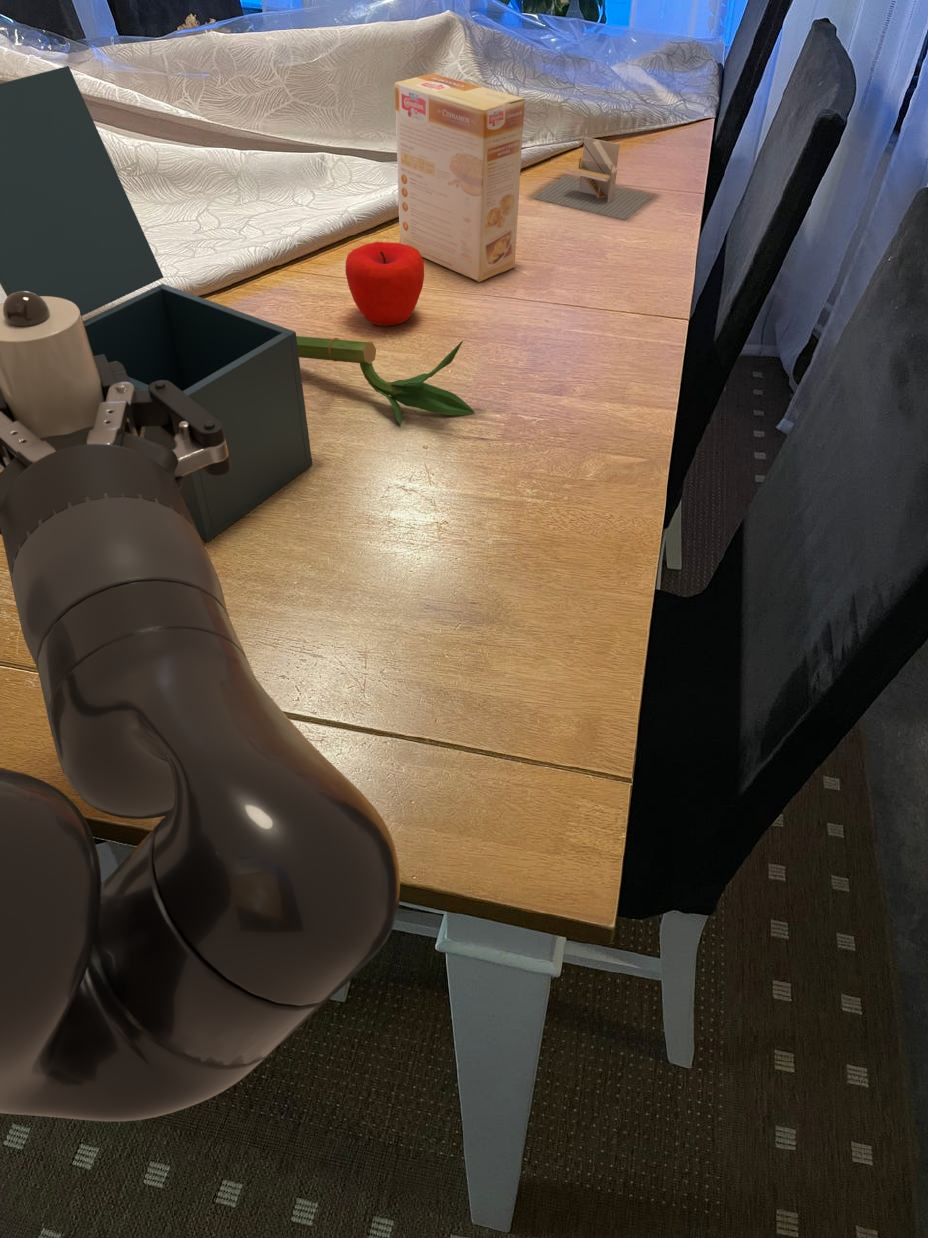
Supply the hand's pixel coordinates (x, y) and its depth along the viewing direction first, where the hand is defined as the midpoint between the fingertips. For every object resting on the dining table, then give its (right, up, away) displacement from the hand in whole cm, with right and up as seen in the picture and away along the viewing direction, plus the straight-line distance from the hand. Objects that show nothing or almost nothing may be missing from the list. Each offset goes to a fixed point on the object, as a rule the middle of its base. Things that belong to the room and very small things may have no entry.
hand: (50, 382), depth 46 cm
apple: (+13, +23, +57) cm, 62 cm away
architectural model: (+41, +51, +85) cm, 107 cm away
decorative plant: (+9, +12, +46) cm, 48 cm away
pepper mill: (+1, -6, +3) cm, 7 cm away
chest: (-3, +1, +34) cm, 35 cm away
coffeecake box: (+21, +35, +69) cm, 80 cm away
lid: (-11, +20, +23) cm, 32 cm away
